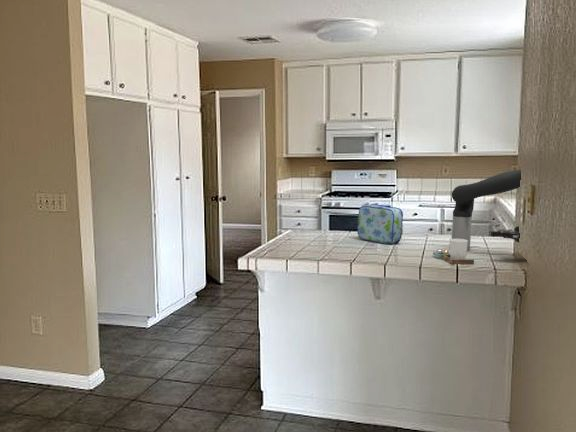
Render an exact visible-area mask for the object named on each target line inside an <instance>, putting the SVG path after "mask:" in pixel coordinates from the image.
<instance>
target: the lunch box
mask: <svg viewBox="0 0 576 432" xmlns="http://www.w3.org/2000/svg"><path fill="white" fill-rule="evenodd" d="M357 215H358V216H357V235H358V237H359V239H361V240H364V241H368V242H369V241H370V242H375V243H379V244H380V243H381V244H385V245H386V244H398V243H399V242H400V241H401V240H402V238H403V237H402V235H403V231H404V230H403V229H404V228H403V227H404V224H403V219H404V211H403V210H402V209H400V207H396V206H392V205H388V204H387V205H386V204H374V203H371V204H364V205H361V206H360V207H359V210H358V214H357Z"/></svg>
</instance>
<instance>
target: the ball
mask: <svg viewBox="0 0 576 432" xmlns="http://www.w3.org/2000/svg"><path fill="white" fill-rule="evenodd" d="M443 251H444V250H442V249H437V250H436V251H435V252H436V253H438V254H443Z"/></svg>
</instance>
